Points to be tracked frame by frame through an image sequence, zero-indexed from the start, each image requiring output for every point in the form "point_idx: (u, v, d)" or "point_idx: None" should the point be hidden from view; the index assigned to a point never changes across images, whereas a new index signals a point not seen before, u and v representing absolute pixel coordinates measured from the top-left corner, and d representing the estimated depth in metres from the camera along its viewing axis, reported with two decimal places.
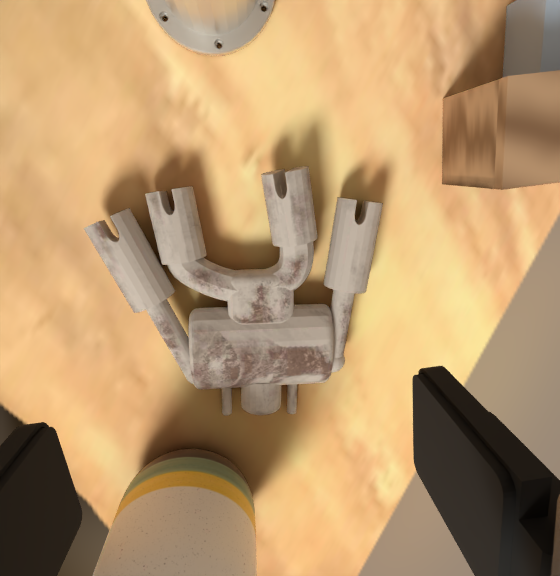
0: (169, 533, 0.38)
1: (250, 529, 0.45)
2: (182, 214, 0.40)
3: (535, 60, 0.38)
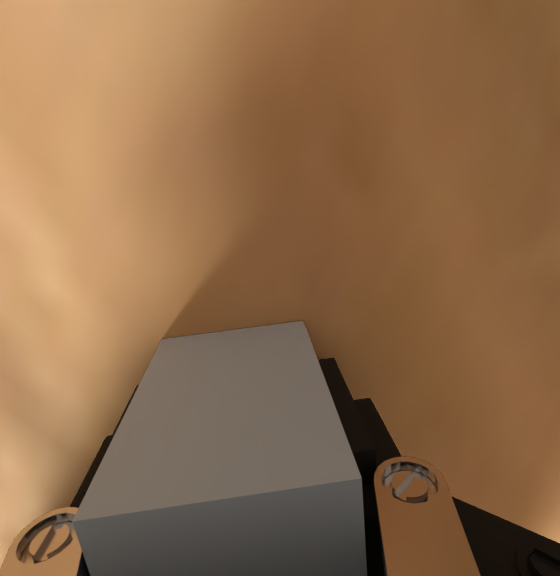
0: None
1: None
2: None
3: None
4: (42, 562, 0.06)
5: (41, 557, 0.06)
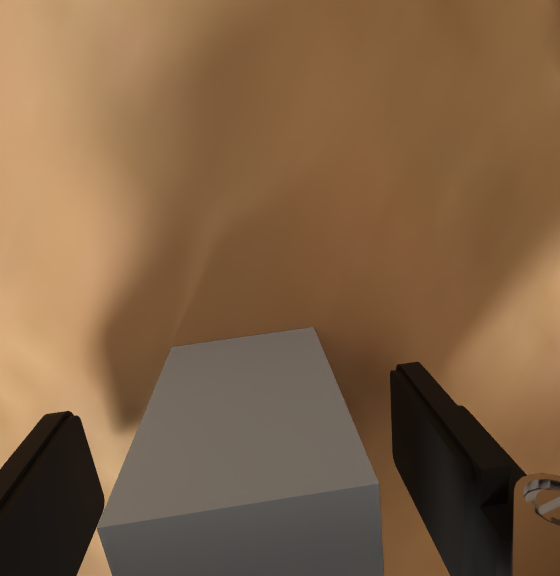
0: None
1: None
2: None
3: None
4: None
5: None
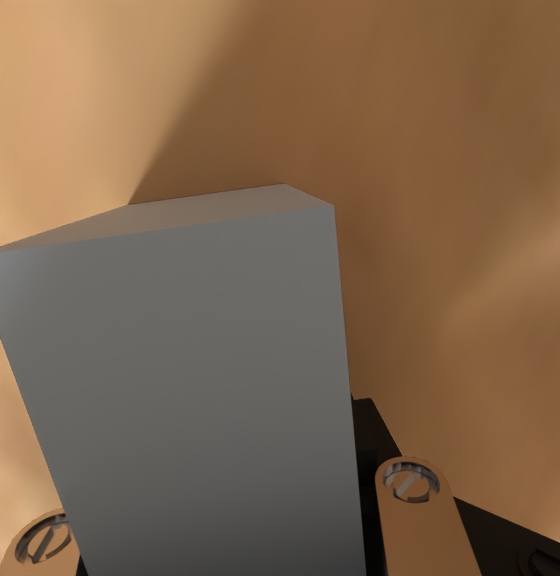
0: None
1: None
2: None
3: None
4: (40, 563, 0.06)
5: (39, 558, 0.06)
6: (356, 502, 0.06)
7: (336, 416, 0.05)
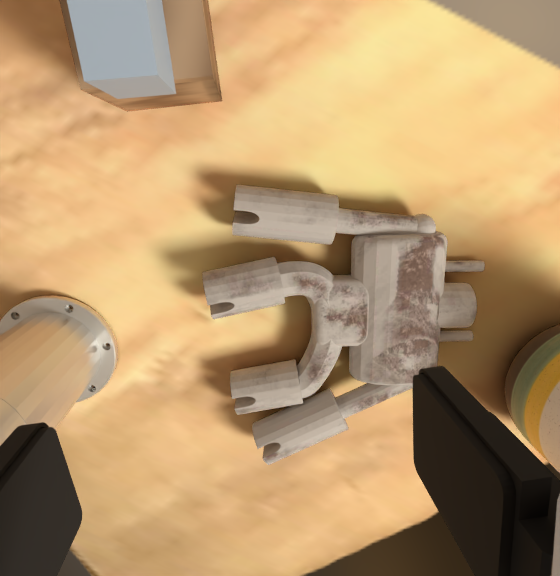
0: None
1: None
2: (254, 389, 0.43)
3: None
4: None
5: None
6: None
7: None
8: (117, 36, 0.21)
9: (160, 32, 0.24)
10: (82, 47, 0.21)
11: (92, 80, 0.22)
